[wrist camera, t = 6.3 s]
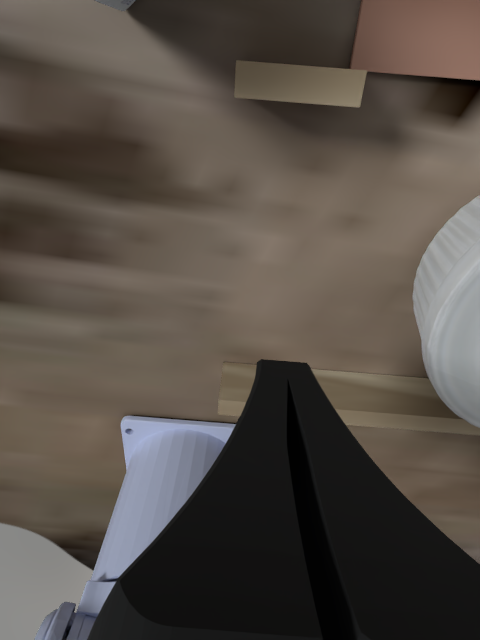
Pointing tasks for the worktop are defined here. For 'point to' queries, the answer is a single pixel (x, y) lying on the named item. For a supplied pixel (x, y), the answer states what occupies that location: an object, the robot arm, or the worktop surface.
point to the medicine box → (117, 3)
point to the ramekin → (452, 312)
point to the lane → (346, 90)
